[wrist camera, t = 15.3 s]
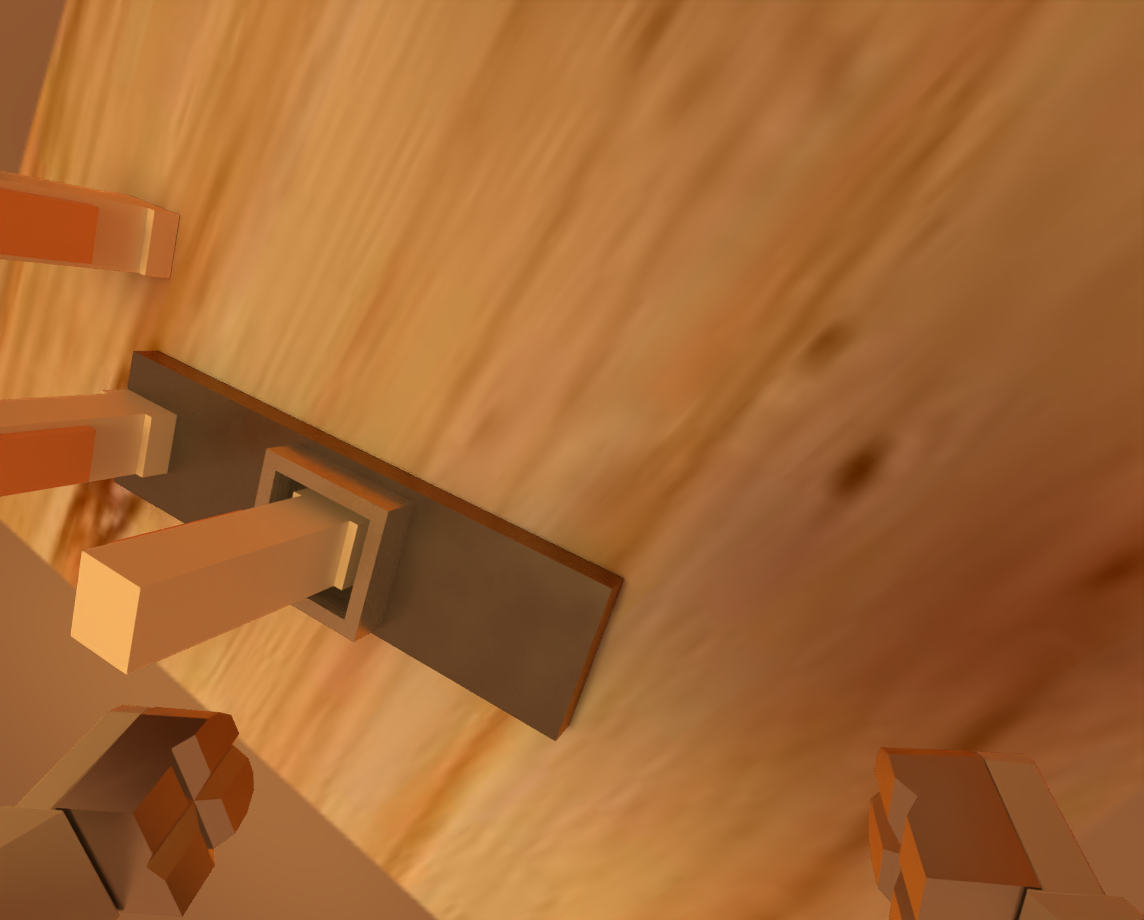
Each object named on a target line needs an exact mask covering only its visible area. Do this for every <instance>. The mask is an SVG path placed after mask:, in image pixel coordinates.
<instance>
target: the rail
mask: <svg viewBox="0 0 1144 920" xmlns="http://www.w3.org/2000/svg"><path fill="white" fill-rule="evenodd" d="M128 390H130V391H132V392H134V393H136V394H138V395H140V396H142V397H143V398H145V399H147V400H149V401H151V402H153V403H155V404H157V405H159V406H161V407H163V408H165V409H166V410H168V411H170V412H172V413H174V414H176V415H177V418H176V424H175V430H174V436H173V442H172V448H171V454H170V459H169V465H168V471H167V473H166V474H160V475H154V476H149V477H143V478H142V477H140V476H139V475H137V474H133V475H127V476H121V477H115V478H114V482H115V483H117V484H119V485H120V486H122V487H124V488H126V489H127V490H129V491H131V492H132V493H134V494H136V495H137V496H139V497H141V498H143V499H144V500H146V501H148V502H149V503H151V504H153V505H155V506H156V507H158V508H160V509H161V510H163V511H165V512H166V513H168V514H170V515H172V516H173V517H175V518H177V519H178V520H180V521H182V522H183V523H189V522H193V521H197V520H201V519H205V518H209V517H213V516H218V515H222V514H226V513H230V512H234V511H238V510H246V509H250V508H254V507H258V506H262V505H266V504H270V503H274V502H278V501H282V500H286V499H290V498H292V497H293V492H294V491H298V490H302V489H306V488H310V489H312V490H314V491H316V492H318V493H320V494H322V495H323V496H325V497H327V498H329V499H331V500H333V501H335V502H337V503H339V504H341V505H343V506H344V507H346V508H348V509H350V510H352V511H354V512H356V513H358V514H360V515H362V516H363V517H365V518H367V519H369V520H370V523H369V527H368V531H367V535H366V538H365V542H364V546H363V550H362V554H361V558H360V562H359V566H358V569H357V573H356V577H355V581H354V585H353V586H351V587H348V588H346V589H344V590H340V589H338V588H337V587H335V586H332V587H330V588H328V589H325V590H323V591H321V592H318V593H316V594H314V595H311V596H309V597H307V598H304V599H302V600H300V601H297V602H295V603H293V604H291V605H292V606H294V607H296V608H298V609H299V610H301V611H303V612H304V613H306V614H308V615H309V616H311V617H313V618H314V619H316V620H318V621H319V622H321V623H323V624H324V625H326V626H328V627H329V628H331V629H333V630H334V631H336V632H338V633H339V634H341V635H343V636H344V637H346V638H348V639H349V640H351V641H353V642H355V641H357V640H359V639H360V638H362V637H364V636H366V635H368V634H369V633H372V634H374V635H376V636H377V637H379V638H381V639H383V640H384V641H386V642H388V643H389V644H391V645H393V646H394V647H396V648H398V649H400V650H401V651H403V652H405V653H406V654H408V655H410V656H411V657H413V658H415V659H417V660H418V661H420V662H422V663H423V664H425V665H427V666H429V667H430V668H432V669H434V670H435V671H437V672H439V673H440V674H442V675H444V676H446V677H447V678H449V679H451V680H452V681H454V682H456V683H457V684H459V685H461V686H463V687H464V688H466V689H468V690H469V691H471V692H473V693H474V694H476V695H478V696H480V697H481V698H483V699H485V700H486V701H488V702H490V703H491V704H493V705H495V706H497V707H498V708H500V709H502V710H503V711H505V712H507V713H508V714H510V715H512V716H514V717H515V718H517V719H519V720H520V721H522V722H524V723H526V724H527V725H529V726H531V727H532V728H534V729H536V730H537V731H539V732H541V733H543V734H544V735H546V736H548V737H549V738H551V739H553V740H554V741H556V740H557V739H558V738H559V737H560V735H561V734H562V733H563V732H564V731H565V729H566V728H567V727H568V726H569V724H570V721H571V718H572V715H573V713H574V710H575V707H576V705H577V702H578V699H579V697H580V694H581V691H582V689H583V686H584V683H585V681H586V678H587V675H588V673H589V670H590V667H591V665H592V662H593V659H594V657H595V654H596V651H597V649H598V646H599V643H600V641H601V638H602V635H603V632H604V630H605V627H606V624H607V622H608V619H609V616H610V614H611V611H612V608H613V606H614V603H615V600H616V598H617V595H618V592H619V590H620V587H621V584H622V582H623V578H621V577H619V576H617V575H615V574H613V573H611V572H609V571H607V570H605V569H603V568H601V567H599V566H597V565H595V564H593V563H590V562H588V561H586V560H584V559H582V558H580V557H578V556H576V555H574V554H572V553H570V552H568V551H566V550H564V549H562V548H560V547H558V546H556V545H554V544H552V543H550V542H548V541H545V540H543V539H541V538H539V537H537V536H535V535H533V534H531V533H529V532H527V531H525V530H523V529H521V528H519V527H517V526H515V525H513V524H511V523H509V522H507V521H505V520H503V519H500V518H498V517H496V516H494V515H492V514H490V513H488V512H486V511H484V510H482V509H480V508H478V507H476V506H474V505H472V504H470V503H468V502H466V501H464V500H462V499H460V498H458V497H455V496H453V495H451V494H449V493H447V492H445V491H443V490H441V489H439V488H437V487H435V486H433V485H431V484H429V483H427V482H425V481H423V480H421V479H419V478H417V477H415V476H413V475H410V474H408V473H406V472H404V471H402V470H400V469H398V468H396V467H394V466H392V465H390V464H388V463H386V462H384V461H382V460H380V459H378V458H376V457H374V456H372V455H370V454H367V453H365V452H363V451H361V450H359V449H357V448H355V447H353V446H351V445H349V444H347V443H345V442H343V441H341V440H339V439H337V438H335V437H333V436H331V435H329V434H327V433H325V432H322V431H320V430H318V429H316V428H314V427H312V426H310V425H308V424H306V423H304V422H302V421H300V420H298V419H296V418H294V417H292V416H290V415H288V414H286V413H284V412H282V411H280V410H277V409H275V408H273V407H271V406H269V405H267V404H265V403H263V402H261V401H259V400H257V399H255V398H253V397H251V396H249V395H247V394H245V393H243V392H241V391H239V390H237V389H235V388H232V387H230V386H228V385H226V384H224V383H222V382H220V381H218V380H216V379H214V378H212V377H210V376H208V375H206V374H204V373H202V372H200V371H198V370H196V369H194V368H192V367H190V366H187V365H185V364H183V363H181V362H179V361H177V360H175V359H173V358H171V357H169V356H167V355H165V354H163V353H161V352H159V351H133V356H132V363H131V370H130V376H129V383H128Z"/></svg>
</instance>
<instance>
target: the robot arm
mask: <svg viewBox="0 0 1144 920" xmlns="http://www.w3.org/2000/svg"><path fill="white" fill-rule="evenodd" d="M238 735H239V732H238V730H237V727H236V725H235V723H234V720H233V718H232V716H231V715H229V714H225V713H220V712H210V711H198V710H186V709H174V708H161V707H142V706H129V705H121V706H119V707H116V708H114V709H112V710H110V711H107V712H106V713H105V714H104V715H103V717H102V718H101V719H100V720H99V721H98V722H97V723H96V724H95V725H94V726H93V727H92V728H91V729H90V730H89V731H88V732H87V733H86V734H85V735H84V736H83V737H82V738H81V739H80V740H79V741H78V742H77V743H76V744H75V745H74V746H73V747H72V748H71V749H70V750H69V751H68V752H67V753H66V754H65V756H64V757H63V758H62V759H61V760H60V761H59V762H58V763H57V764H56V765H55V766H54V767H53V768H52V769H51V770H50V771H49V772H48V773H47V774H46V775H45V776H44V777H43V778H42V779H41V780H40V781H39V782H38V783H37V784H36V785H35V786H34V787H33V788H32V789H31V790H30V791H29V793H27V795H25V797H24V798H23V799H22V800H21V801H20V802H19V803H18V804H17V805H16V806H3V807H1V808H0V920H116V919H117V918H119V913H118V912H121V913H136V914H149V915H163V916H177V917H183V915H184V914H185V912H186V911H187V909H188V907H189V906H190V904H191V903H192V901H193V899H194V898H195V896H196V895H197V893H198V892H199V890H200V888H201V887H202V885H203V884H204V882H205V880H206V879H207V877H208V876H209V874H210V873H211V871H212V869H213V868H214V866H215V863H214V862H215V861H214V848H216V847H217V846H218V845H220V844H221V843H223V842H224V841H225V840H227V839H228V838H229V837H231V836H232V835H234V834H235V833H236V831H237V829H238V828H239V826H240V824H241V823H242V821H243V819H244V818H245V816H246V814H247V812H248V808H249V805H250V801H251V798H252V794H253V791H254V781H253V770H252V767H251V765H250V762H249V759H248V758H247V757H246V756H245V755H244V754H243V753H242V752H241V751H239V750H238V749H237V748H236V747H235V746H234V743H235V741H236V739H237V737H238ZM874 772H875V775H876V779H877V783H878V786H879V790H880V792H879V793H877V794H876V795H875V796H874V797H873V798H871V800H870V810H869V820H868V821H869V846H870V852H871V858H872V865H873V869H874V874H875V878H876V882H877V887H878V889H879V890H880V891H881V892H882V893H883V894H884V895H885V896H886V897H887V898H888V899H889V900H890V902H891V909H890V915H889V920H1144V914H1143V913H1141V912H1140V911H1139V910H1138V909H1136V908H1135V907H1134V906H1133V905H1131V904H1130V903H1129V902H1128V901H1127V900H1125V899H1124V898H1122V897H1113V896H1106V895H1105V893H1104V891H1103V889H1102V887H1101V885H1100V884H1099V882H1098V880H1097V878H1096V876H1095V874H1094V872H1093V871H1092V869H1091V867H1090V865H1089V863H1088V861H1087V859H1086V857H1085V856H1084V854H1083V852H1082V850H1081V848H1080V846H1079V844H1078V842H1077V841H1076V839H1075V837H1074V835H1073V833H1072V831H1071V829H1070V828H1069V826H1068V824H1067V822H1066V820H1065V818H1064V816H1063V814H1062V813H1061V811H1060V809H1059V807H1058V805H1057V803H1056V801H1055V800H1054V798H1053V796H1052V794H1051V792H1050V790H1049V788H1048V786H1047V785H1046V783H1045V781H1044V779H1043V777H1042V775H1041V773H1040V772H1039V770H1038V768H1037V766H1036V764H1035V762H1034V761H1033V760H1032V759H1031V758H1029V757H1028V756H1027V755H1026V754H1017V753H995V752H975V753H973V752H971V751H956V750H933V749H910V748H887V747H881V748H880V750H879V752H878V754H877V758H876V764H875V771H874Z"/></svg>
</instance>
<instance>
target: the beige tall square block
mask: <svg viewBox="0 0 1144 920" xmlns="http://www.w3.org/2000/svg"><path fill="white" fill-rule="evenodd" d="M369 523H370V520H369V519H367V518H365V517H363V516H362V515H360V514H358V513H356V512H354V511H352V510H350V509H348V508H346V507H344V506H343V505H341V504H339V503H337V502H335V501H333V500H331V499H329V498H327V497H325V496H323V495H322V494H320V493H318V492H316V491H314V490H312V489H310V488H306V489H302V490H298V491H294V492H293V497H292V498H290V499H286V500H282V501H278V502H274V503H270V504H266V505H262V506H258V507H254V508H250V509H246V510H238V511H234V512H230V513H226V514H222V515H218V516H213V517H209V518H205V519H201V520H197V521H193V522H189V523H185V524H181V525H177V526H173V527H169V528H165V529H161V530H157V531H153V532H149V533H145V534H141V535H137V536H133V537H129V538H125V539H121V540H117V541H113V542H111V544H107V545H103V546H99V547H95V548H91V549H87V550H83V551H82V555H81V562H80V570H79V577H78V585H77V592H76V599H75V607H74V615H73V622H72V629H71V636H72V637H73V638H75V639H76V640H78V641H79V642H80V643H82V644H83V645H85V646H86V647H88V648H89V649H90V650H92V651H93V652H95V653H96V654H97V655H99V656H100V657H102V658H103V659H105V660H106V661H107V662H109V663H110V664H112V665H113V666H115V667H116V668H118V669H119V670H121V671H122V672H123V673H125V674H126V675H127V674H129V673H131V672H134V671H136V670H139V669H141V668H143V667H146V666H148V665H150V664H153V663H155V662H157V661H160V660H162V659H164V658H167V657H169V656H171V655H174V654H176V653H178V652H181V651H183V650H185V649H188V648H190V647H192V646H195V645H197V644H199V643H202V642H204V641H206V640H209V639H211V638H213V637H216V636H218V635H220V634H223V633H225V632H227V631H230V630H232V629H234V628H237V627H239V626H241V625H244V624H246V623H248V622H251V621H253V620H255V619H258V618H260V617H262V616H265V615H267V614H269V613H272V612H274V611H276V610H279V609H281V608H283V607H286V606H288V605H290V604H293V603H295V602H297V601H300V600H302V599H304V598H307V597H309V596H311V595H314V594H316V593H318V592H321V591H323V590H325V589H328V588H330V587H332V586H335V587H337V588H338V589H340V590H344V589H346V588H348V587H351V586H353V585H354V581H355V577H356V573H357V569H358V566H359V562H360V558H361V554H362V550H363V546H364V542H365V538H366V535H367V531H368V527H369Z"/></svg>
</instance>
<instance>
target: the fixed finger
mask: <svg viewBox="0 0 1144 920" xmlns="http://www.w3.org/2000/svg"><path fill="white" fill-rule="evenodd" d="M176 418H177V415H176V414H174V413H172V412H170V411H168V410H166V409H165V408H163V407H161V406H159V405H157V404H155V403H153V402H151V401H149V400H147V399H145V398H143V397H142V396H140V395H138V394H136V393H134V392H132V391H130V390H128V389H122V390H103V391H101V394H96V395H78V396H61V397H43V398H26V399H8V400H0V497H1V496H7V495H13V494H19V493H25V492H31V491H37V490H43V489H49V488H55V487H61V486H67V485H73V484H79V483H85V482H91V481H97V480H103V479H109V478H115V477H121V476H127V475H133V474H137V475H139V476H140V477H142V478H143V477H149V476H154V475H160V474H166V473H167V471H168V465H169V459H170V454H171V448H172V442H173V436H174V430H175V424H176Z"/></svg>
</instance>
